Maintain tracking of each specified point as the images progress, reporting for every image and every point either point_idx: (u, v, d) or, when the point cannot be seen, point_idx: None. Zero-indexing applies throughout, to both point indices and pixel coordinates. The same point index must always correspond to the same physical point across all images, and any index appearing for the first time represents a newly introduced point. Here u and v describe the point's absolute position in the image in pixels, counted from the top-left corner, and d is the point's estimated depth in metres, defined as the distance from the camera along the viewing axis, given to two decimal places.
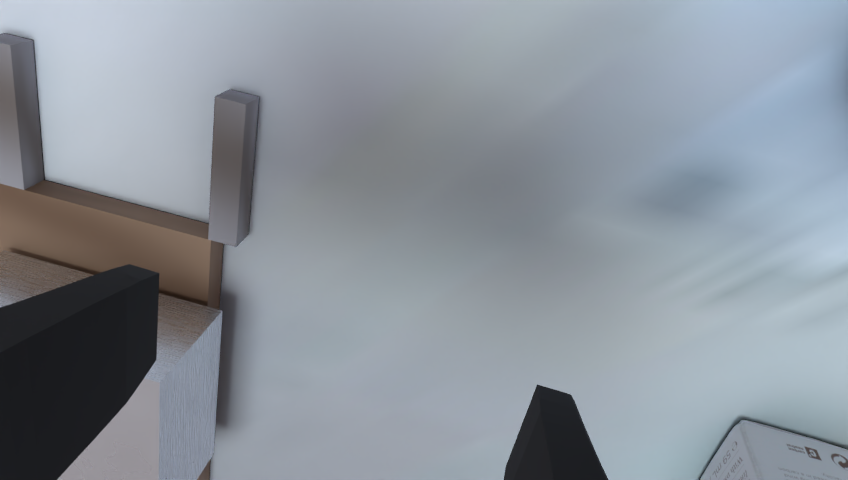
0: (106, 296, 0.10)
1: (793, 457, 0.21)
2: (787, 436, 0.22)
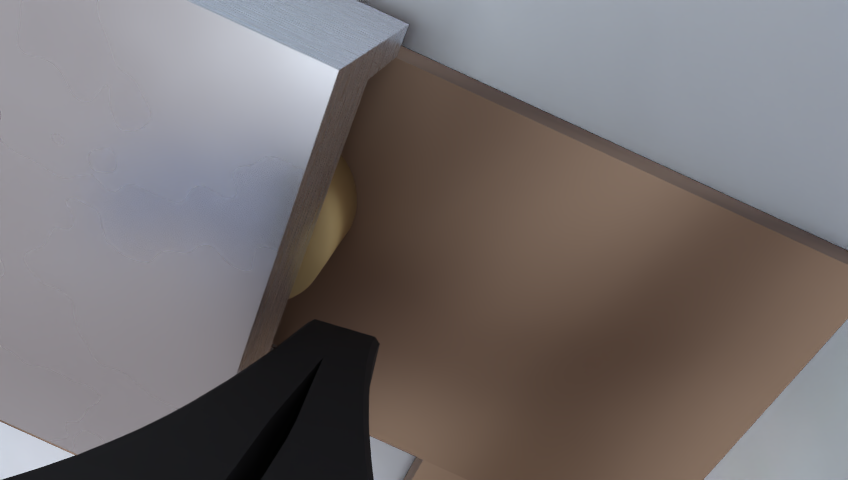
0: (319, 359, 0.10)
1: None
2: None
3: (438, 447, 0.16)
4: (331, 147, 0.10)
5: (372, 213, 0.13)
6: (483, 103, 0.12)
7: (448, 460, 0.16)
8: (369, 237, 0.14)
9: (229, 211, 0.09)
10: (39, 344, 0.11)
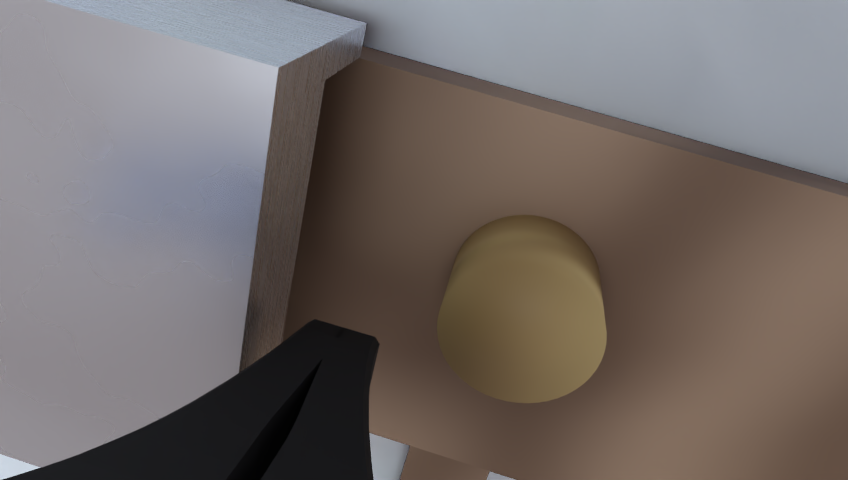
0: (319, 360, 0.10)
1: None
2: None
3: None
4: (295, 149, 0.10)
5: (617, 292, 0.13)
6: (739, 172, 0.12)
7: None
8: (613, 316, 0.13)
9: (201, 224, 0.09)
10: (50, 383, 0.11)
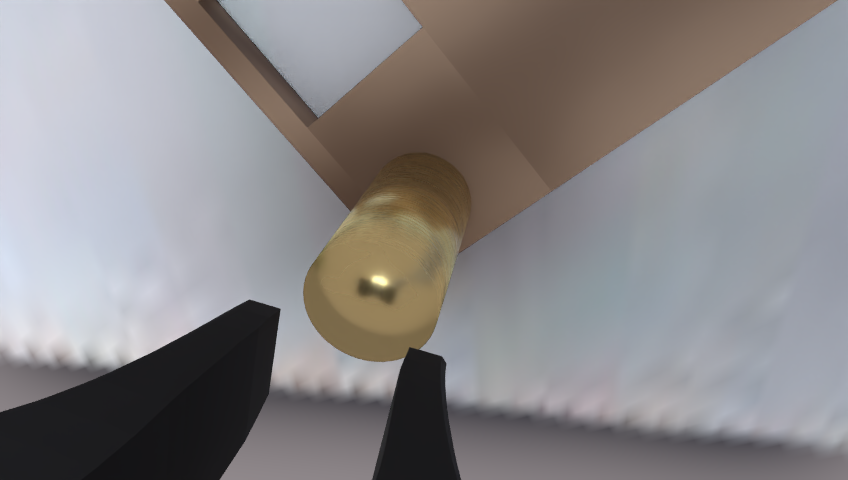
0: (244, 336, 0.10)
1: None
2: None
3: (443, 18, 0.17)
4: None
5: None
6: None
7: (444, 36, 0.17)
8: None
9: None
10: None
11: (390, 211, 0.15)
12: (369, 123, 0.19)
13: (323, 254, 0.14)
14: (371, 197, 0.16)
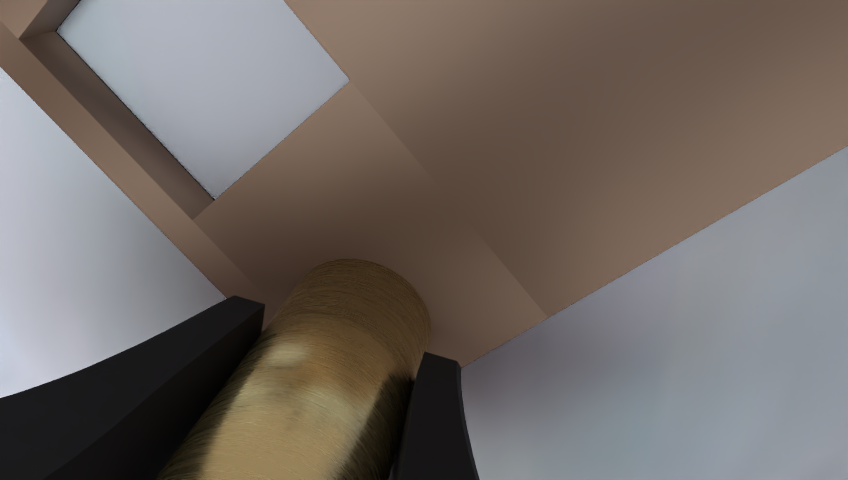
0: (227, 331, 0.10)
1: None
2: None
3: (380, 67, 0.11)
4: None
5: None
6: None
7: (383, 94, 0.11)
8: None
9: None
10: None
11: (277, 402, 0.09)
12: (279, 216, 0.13)
13: None
14: (259, 359, 0.10)
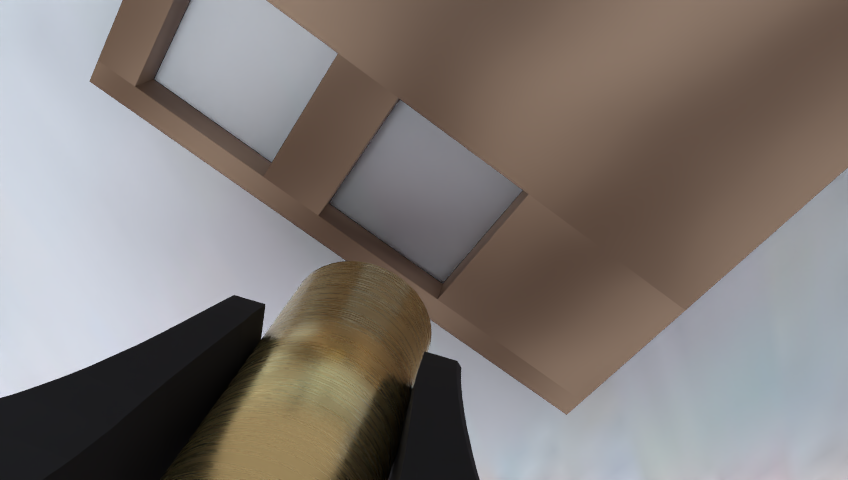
0: (227, 332, 0.10)
1: None
2: None
3: (546, 182, 0.18)
4: None
5: None
6: None
7: (550, 197, 0.18)
8: None
9: None
10: None
11: (275, 401, 0.09)
12: (495, 284, 0.20)
13: None
14: (258, 362, 0.10)
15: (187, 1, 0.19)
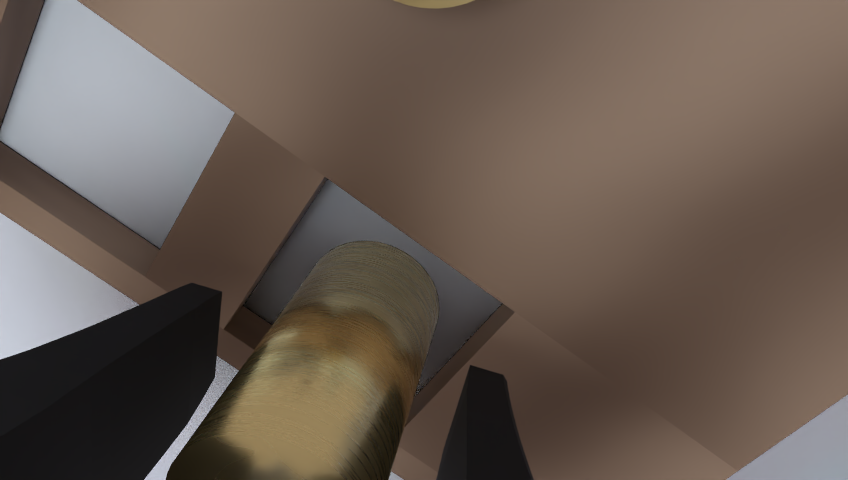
0: (178, 317, 0.10)
1: None
2: None
3: (540, 298, 0.13)
4: None
5: None
6: None
7: (547, 317, 0.13)
8: None
9: None
10: None
11: (298, 361, 0.10)
12: None
13: (185, 451, 0.09)
14: (281, 329, 0.11)
15: (28, 34, 0.13)
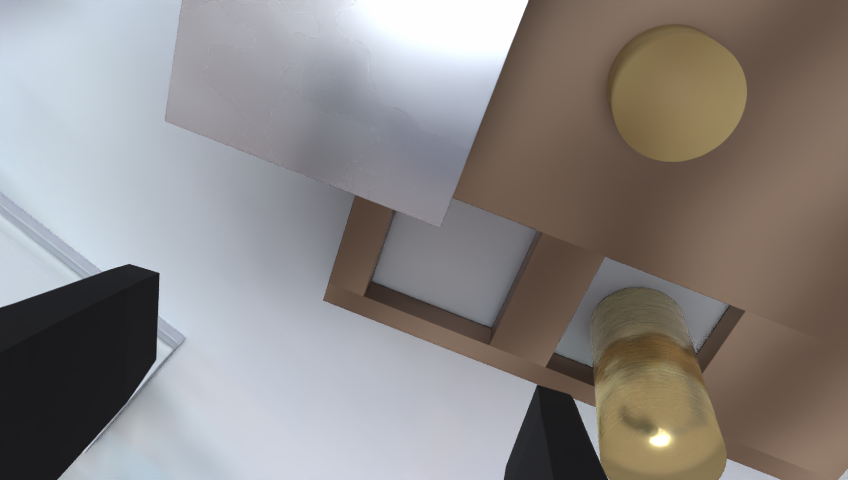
0: (106, 296, 0.10)
1: None
2: None
3: (761, 298, 0.19)
4: None
5: None
6: None
7: (768, 309, 0.19)
8: None
9: None
10: (336, 94, 0.14)
11: (646, 368, 0.17)
12: (727, 394, 0.21)
13: (612, 428, 0.16)
14: (616, 354, 0.18)
15: (393, 215, 0.21)
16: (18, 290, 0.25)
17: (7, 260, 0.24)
